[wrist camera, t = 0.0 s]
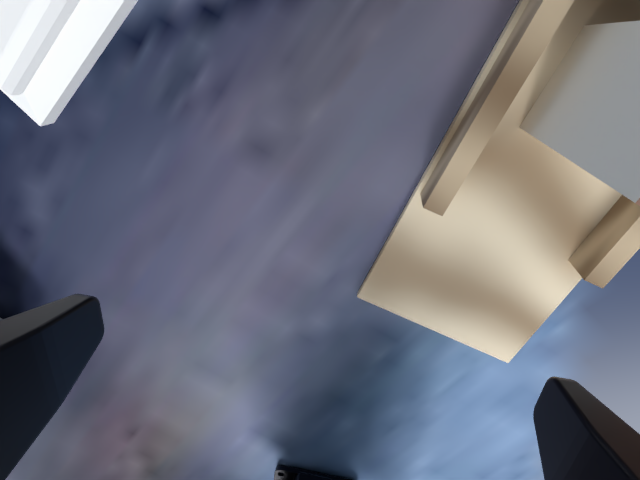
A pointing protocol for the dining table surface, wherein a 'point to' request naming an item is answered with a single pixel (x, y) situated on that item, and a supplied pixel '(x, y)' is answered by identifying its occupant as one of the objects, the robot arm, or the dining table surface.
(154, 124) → the dining table surface
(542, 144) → the tray
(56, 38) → the chess set
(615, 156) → the block
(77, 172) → the dining table surface
